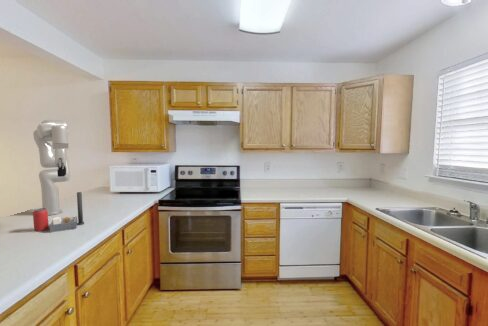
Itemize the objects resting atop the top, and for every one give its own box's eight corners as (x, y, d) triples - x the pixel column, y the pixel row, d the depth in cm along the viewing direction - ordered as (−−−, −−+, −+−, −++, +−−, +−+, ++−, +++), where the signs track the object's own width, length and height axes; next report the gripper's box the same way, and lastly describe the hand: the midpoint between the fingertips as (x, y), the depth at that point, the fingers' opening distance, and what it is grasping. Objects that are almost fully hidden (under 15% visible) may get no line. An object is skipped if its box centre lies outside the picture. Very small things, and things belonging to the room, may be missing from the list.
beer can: (31, 232, 138) (30, 211, 137) (37, 228, 144) (36, 208, 143) (45, 231, 139) (44, 210, 138) (51, 227, 146) (49, 207, 145)
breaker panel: (53, 226, 148) (52, 217, 147) (77, 222, 154) (76, 214, 154) (50, 232, 138) (49, 222, 137) (76, 228, 144) (75, 219, 143)
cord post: (77, 223, 152) (75, 192, 151) (84, 222, 154) (82, 191, 153) (77, 225, 149) (75, 193, 148) (84, 224, 151) (82, 192, 150)
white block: (54, 222, 142) (54, 217, 142) (60, 221, 143) (60, 216, 143) (53, 224, 138) (53, 219, 138) (60, 223, 140) (59, 218, 140)
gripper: (54, 146, 149) (56, 174, 150) (50, 146, 134) (52, 177, 135) (69, 146, 153) (71, 174, 154) (67, 146, 138) (68, 176, 139)
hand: (62, 175), depth 144 cm, fingers open, 9 cm apart
